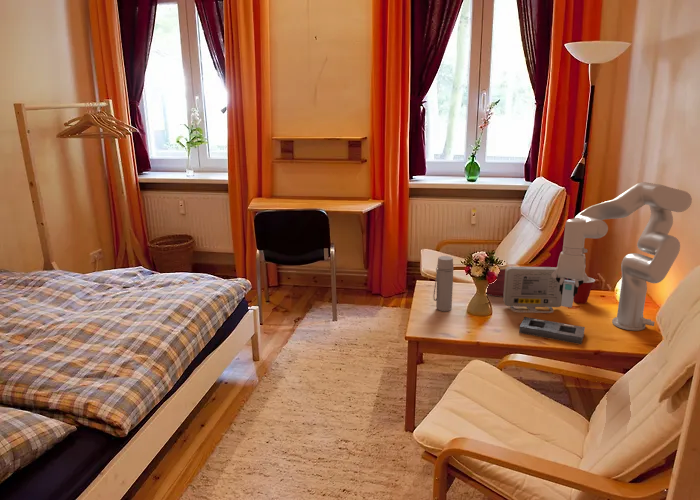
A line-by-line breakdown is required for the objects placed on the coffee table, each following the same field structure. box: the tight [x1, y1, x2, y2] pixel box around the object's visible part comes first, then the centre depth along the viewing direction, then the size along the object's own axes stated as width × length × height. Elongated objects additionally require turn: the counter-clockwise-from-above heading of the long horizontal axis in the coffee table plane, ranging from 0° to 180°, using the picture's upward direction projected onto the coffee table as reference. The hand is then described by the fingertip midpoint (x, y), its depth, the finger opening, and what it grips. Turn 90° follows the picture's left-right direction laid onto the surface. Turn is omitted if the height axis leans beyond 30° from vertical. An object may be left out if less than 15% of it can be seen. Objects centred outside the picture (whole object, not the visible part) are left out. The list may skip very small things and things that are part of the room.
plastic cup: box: [570, 276, 596, 305], centre depth 245 cm, size 11×11×12 cm
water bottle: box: [432, 255, 454, 312], centre depth 236 cm, size 9×8×25 cm
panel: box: [518, 316, 585, 345], centre depth 213 cm, size 24×11×3 cm, turn 61°
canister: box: [486, 258, 510, 297], centre depth 258 cm, size 13×13×18 cm
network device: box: [502, 266, 564, 314], centre depth 236 cm, size 26×9×20 cm, turn 84°
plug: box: [560, 279, 575, 308], centre depth 205 cm, size 4×5×10 cm
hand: (568, 293), depth 206 cm, fingers closed on plug, 4 cm apart
